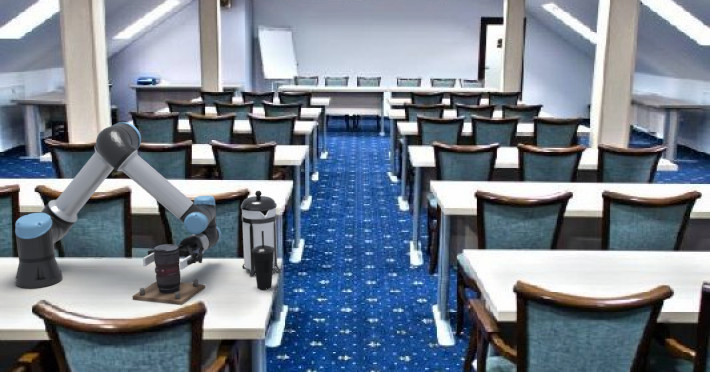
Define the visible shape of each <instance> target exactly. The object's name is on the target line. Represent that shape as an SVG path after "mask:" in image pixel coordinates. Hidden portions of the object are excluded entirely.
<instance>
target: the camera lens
mask: <svg viewBox="0 0 710 372" xmlns="http://www.w3.org/2000/svg"><path fill="white" fill-rule="evenodd" d="M154 249H155V251H154V260H155V261H154V265H155V267H154V272H155V273H154V274H155V282H157V287H158V288H159V292H161V293H173V292H176V291H178V290H179V288H180V287H179V285H180V282H181V280H182V279H181V271H180V270H181V269H180V261H181V259H180V258H181V257H180V256H179V249H178V245H176V244H167V243H166V244H160V245H157V246H155V247H154Z"/></svg>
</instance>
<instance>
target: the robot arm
mask: <svg viewBox="0 0 710 372" xmlns="http://www.w3.org/2000/svg"><path fill="white" fill-rule="evenodd" d="M141 143H142V135H141V133H140V131H139V129H138V128H137V127H136V126H135V125H133V124H132V123H129V122H121V121H120V122H116V123H115V124H113V125H111V126H108V127H105V128H103V129H102V130H101V131H100V132H99V133H98V134H97V137H96V139H95V145H94V153H93V154H92V156H91V157H90V158H89V159H88V160H87V162H86V163H85V164H84V165H83V167H82V168H81V169H80V170H79V171H78V172H77V174H76V175H75V176H74V178H73V179H72V180H71V182H69V184H68V185H67V187H65V189H64V190H63V191H62V192H61V194H60V195H59V196H58V197H57V198H56V199H52V200H50V201H49V202H48V203H47V204H46V205H45V207H43V209H42V210H41V211H40V212H33V213H28V214H25V215H22V216H20V217H19V218H18V219H17V220H16V221H15V224H14V225H15V230H14V232H15V237H16V245H17V253H18V254H17V255H18V265H17V266H18V267H17V270H16V275H15V285H16V286H17V287H19V288H22V289H38V288H44V287H45V288H46V287H49V286H52V285H55V284H58V283H59V282H61V281H62V280H63V272H62V270H61V269H60V266H59V263H58V261H57V258H56V255H55V243H56V242H58V241H60V240H62V239H63V238H65V237H66V236H67V235H69V233H70V232H71V231H72V228H73V226H74V224H75V223H76V222H77V221H78V213H79V212H80V210H81V209H82V208H83V207H84V206H85V205H86V203H87V202H88V201H89V199H90V198H91V197H92V196H93V194H94V193H96V191H97V190H98V188H99V187H100V186H101V185H102V184H103V183H104V181H105V180H106V179H107V177H108V176H109V175H110V174H111V173H112V171H113V170H116V172H123V173H124V174H125V175H126V176H128V177H129V179H131V181H133V182H134V183H136V184H137V185H138V186H139V187H140V188H141V189H142V190H144V191H145V192H146V193H147V194H149V195H150V196H151V197H152V198H153V199H154V200H156V201H157V202H158V203H159V204H160V205H162V206H163V207H164V208H165V209H167V210H168V211H169V212H170V213H171V214H173V216H175V217H176V218H177V219H178V220H179V221H180V222H182V223H183V226H184V229H185V230H186V232H188V233H189V234H190V235H188V236H187V237H185V238H183V239H182V240H181V241H180V243H179V244H178V245H177V246H178V249H179V257H180V258H181V257H184V258H183V259H181V260H180V262H179V266H180V270H184V269H186V268H187V267H189V266H191V265H192V264H196V263H198V264H202V263H203V257H204V255H205V251H208V250H209V249H210V248H213V247H215V246H216V245H217V244H218V243H219V242H221V239H222V232H221V230H220V228H219V227H218V226H217V216H216V215H217V213H216V212H217V211H216V206H217V205H216V199H215V197H214V196H213V195H198V196H196V197H194V200H193V201H192V200H191V199H190V198H189V197H188V196H186V195H185V193H183V192H181V191H180V189H178V188H177V187H176V186H174V184H172V183H171V182H170V181H169V180H168V179H166V178H165V177H164V176H163V175H162V174H161V173H160V172H158V171H157V169H155V168H154V167H152V166H151V165H150V164H149V163H148V162H147V161H146V160H144V159H143V158H142V157H141V156H140V155H139V154H138V153H139V152H138V150H139V148H140V146H141ZM154 251H155V248H154V249H150V250H148V251H147V255H146V256H144V257H143V258H142V264H143V267H147V266H149V265H150V264H152V263H155V260H154Z"/></svg>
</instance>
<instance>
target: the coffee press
mask: <svg viewBox="0 0 710 372" xmlns="http://www.w3.org/2000/svg"><path fill="white" fill-rule="evenodd" d="M254 195H255V196H250V197H247V198H245V199H243V201H242V203H241V204H240V209H241V213H242V214H241V221H242V239H243V240H242V244H243V245H242V246H243V262H244V263H243V264H242V266H241V267H242V269H243V270H245V269H247V270H250V272H249V276H250V277H256V273H255V266H254V258H253V252H252V249H253V248H255V247H257V246H260V245H262V231H264V245H267V246H270V247H273V248H274V249H275V250H274V255H273V272H274V273H276V274H278V273H280V272H281V268H280V267H279V266H278V246H277V245H278V244H277V243H278V242H277V211H276V209H277V206H278V205H277V203H276V201H275V199H274V198H272V197H270V196H267V195H266V196H265V195H262V192H261V191H260V190H256V191H255V193H254Z"/></svg>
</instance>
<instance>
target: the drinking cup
mask: <svg viewBox="0 0 710 372" xmlns="http://www.w3.org/2000/svg"><path fill="white" fill-rule="evenodd" d="M274 250H275V249H274V248H273V247H270V246H267V245H264V231H262V245H260V246H257V247H255V248H253V249H252V252H253V258H254V266H255V278H256V279H255V281H256V287H257V289H258V290H260V291H266V290H267V291H268V290H269V289H271V288H272V284H273V283H272V281H273V272H274V270H273V255H274Z"/></svg>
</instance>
